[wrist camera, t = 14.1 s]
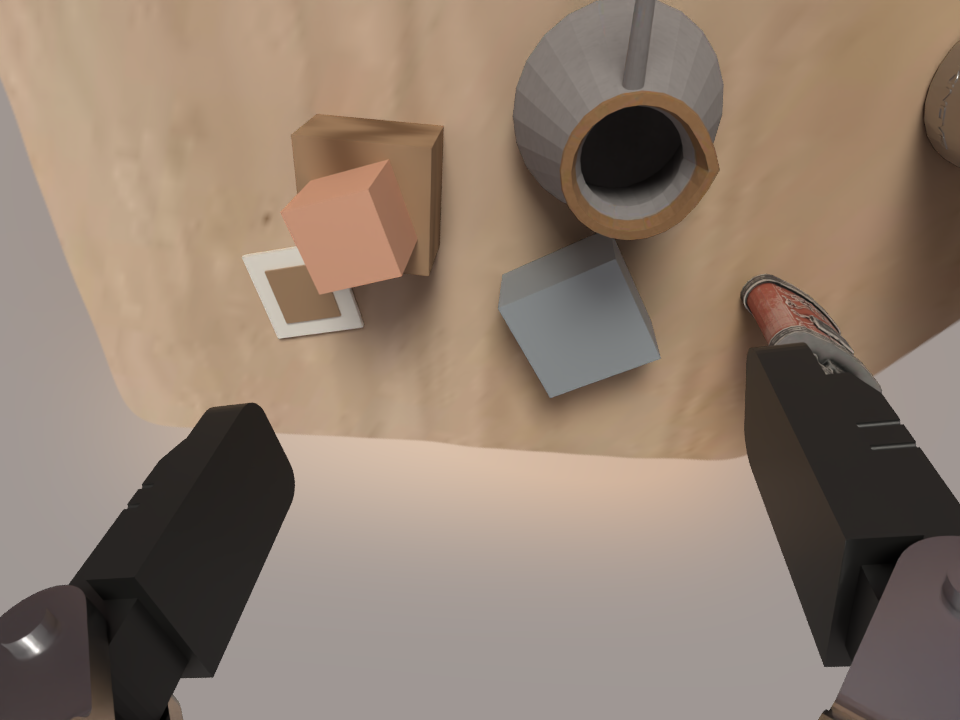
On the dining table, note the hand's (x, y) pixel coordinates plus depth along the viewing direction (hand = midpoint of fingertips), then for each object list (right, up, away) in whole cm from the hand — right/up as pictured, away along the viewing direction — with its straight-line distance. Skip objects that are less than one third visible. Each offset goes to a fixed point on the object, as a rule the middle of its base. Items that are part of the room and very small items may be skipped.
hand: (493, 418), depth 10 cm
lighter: (+21, +4, +34) cm, 40 cm away
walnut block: (-7, +13, +31) cm, 35 cm away
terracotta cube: (-7, +10, +27) cm, 30 cm away
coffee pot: (+7, +20, +25) cm, 33 cm away
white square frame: (-13, +6, +36) cm, 39 cm away
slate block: (+7, +6, +35) cm, 36 cm away
